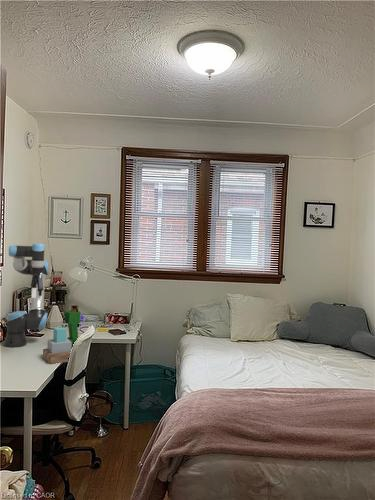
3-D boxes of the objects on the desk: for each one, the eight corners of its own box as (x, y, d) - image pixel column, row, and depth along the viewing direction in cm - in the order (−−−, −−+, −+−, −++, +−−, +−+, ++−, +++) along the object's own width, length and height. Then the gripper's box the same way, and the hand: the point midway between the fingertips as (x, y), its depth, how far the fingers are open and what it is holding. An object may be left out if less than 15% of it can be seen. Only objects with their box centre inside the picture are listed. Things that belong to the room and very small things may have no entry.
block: (53, 340, 249) (53, 328, 249) (62, 339, 253) (62, 327, 253) (56, 342, 245) (57, 330, 244) (66, 341, 248) (66, 328, 248)
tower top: (47, 348, 251) (47, 339, 251) (66, 346, 257) (66, 337, 257) (52, 353, 241) (52, 344, 241) (71, 351, 247) (71, 342, 247)
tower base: (42, 358, 250) (43, 348, 250) (67, 354, 260) (67, 345, 260) (50, 365, 238) (50, 355, 237) (75, 361, 247) (76, 351, 247)
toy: (63, 346, 278) (64, 304, 277) (83, 345, 283) (85, 304, 282) (64, 350, 268) (65, 307, 267) (85, 349, 273) (86, 306, 272)
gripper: (26, 265, 262) (25, 296, 263) (37, 268, 242) (36, 302, 243) (38, 265, 267) (36, 296, 267) (49, 268, 247) (48, 301, 247)
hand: (36, 299), depth 255 cm, fingers open, 13 cm apart
